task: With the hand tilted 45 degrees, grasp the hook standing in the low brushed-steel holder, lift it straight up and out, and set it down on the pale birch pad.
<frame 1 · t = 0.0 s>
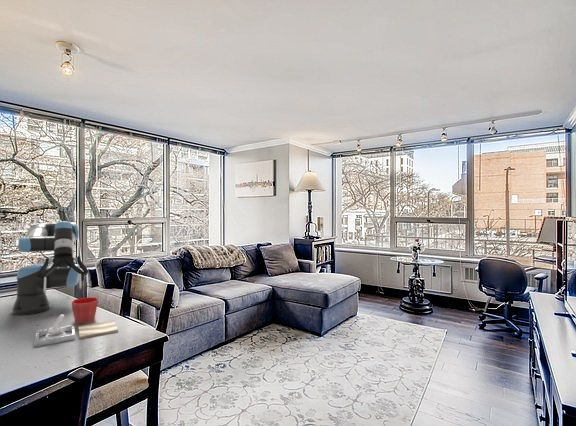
hand: (63, 289, 149), 15 cm above the table, tool tilted 35°, fingers open, 13 cm apart
hook: (55, 338, 131), resting in steel holder
steel holder: (55, 337, 131), on the table
birch pad: (97, 330, 140), on the table
flower pot: (85, 321, 152), on the table
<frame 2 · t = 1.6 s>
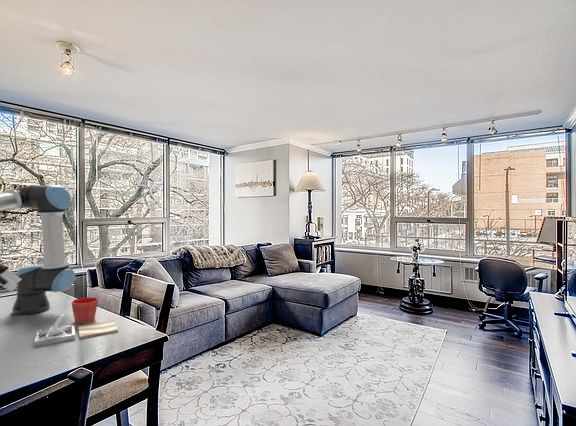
hand: (16, 285, 126), 23 cm above the table, tool tilted 45°, fingers open, 13 cm apart
nothing on the table moved.
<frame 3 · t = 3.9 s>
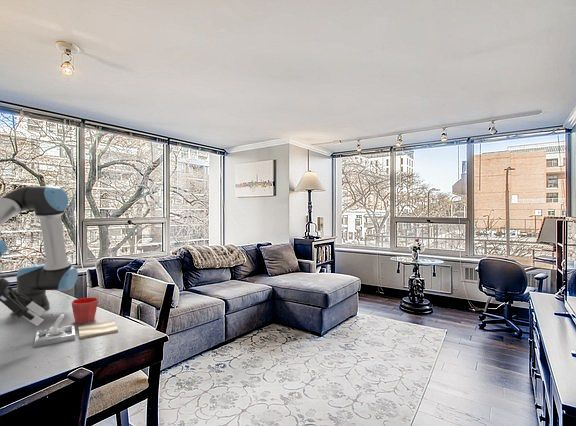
hand: (41, 318, 128), 9 cm above the table, tool tilted 45°, fingers open, 13 cm apart
nothing on the table moved.
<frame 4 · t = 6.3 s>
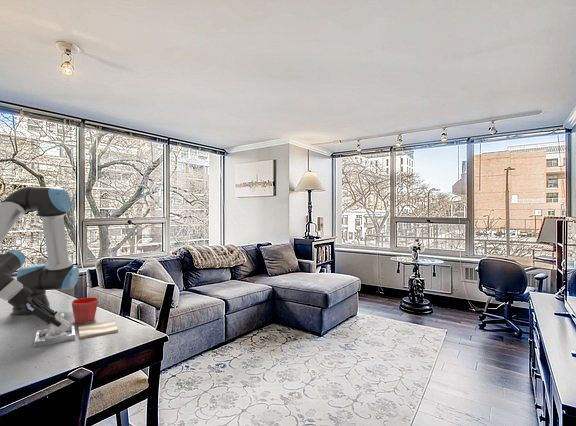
hand: (66, 327, 133), 4 cm above the table, tool tilted 45°, fingers closed on hook, 4 cm apart
hook: (55, 337, 132), resting in steel holder, touching gripper
everything else where it was.
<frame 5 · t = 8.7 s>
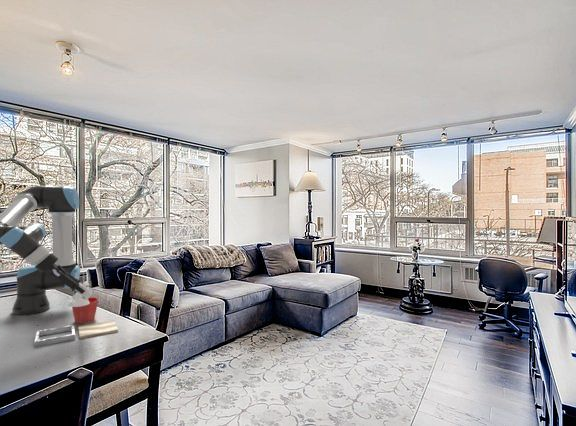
hand: (89, 295, 137), 16 cm above the table, tool tilted 45°, fingers closed on hook, 4 cm apart
hook: (79, 304, 135), point 12 cm above the table, touching gripper
everything else where it was.
when the fingers open (5 cm above the table, at t = 11.4 s): hook stays where it is, resting on birch pad.
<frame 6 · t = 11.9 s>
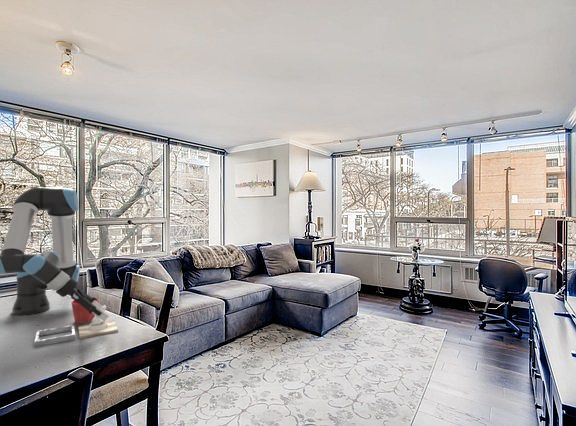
hand: (105, 314, 142), 6 cm above the table, tool tilted 45°, fingers open, 11 cm apart
hook: (97, 327, 141), point 1 cm above the table, touching birch pad
everything else where it was.
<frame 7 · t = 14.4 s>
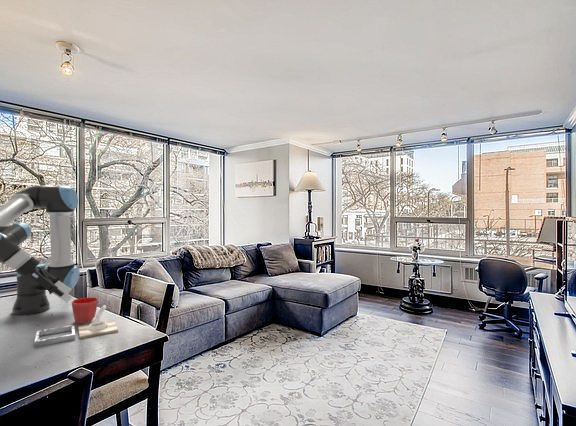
hand: (69, 295, 134), 17 cm above the table, tool tilted 45°, fingers open, 13 cm apart
nothing on the table moved.
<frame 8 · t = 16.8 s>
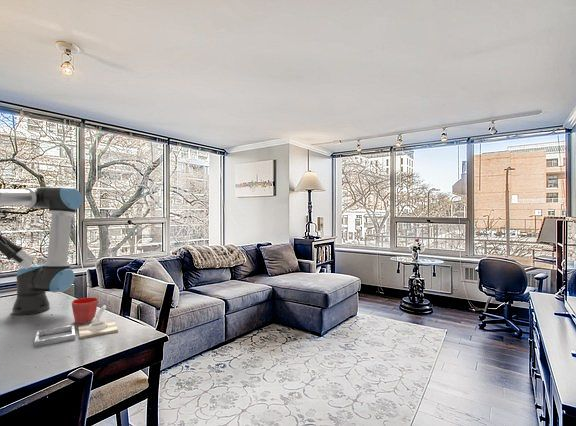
hand: (31, 264, 134), 30 cm above the table, tool tilted 45°, fingers open, 13 cm apart
nothing on the table moved.
at the end: hook inside the target area on the birch pad (0.5 cm from its centre), point 0.8 cm above the birch pad's base; hook tilted 2°; the gripper is holding nothing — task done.
